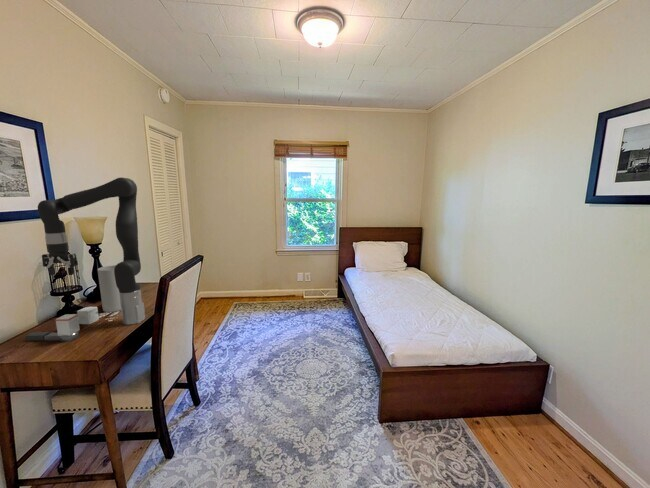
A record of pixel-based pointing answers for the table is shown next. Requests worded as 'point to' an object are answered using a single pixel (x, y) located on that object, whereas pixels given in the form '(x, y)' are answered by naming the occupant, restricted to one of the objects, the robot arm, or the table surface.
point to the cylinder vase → (109, 289)
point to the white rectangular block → (67, 324)
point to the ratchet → (49, 336)
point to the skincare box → (88, 315)
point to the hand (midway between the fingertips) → (62, 274)
